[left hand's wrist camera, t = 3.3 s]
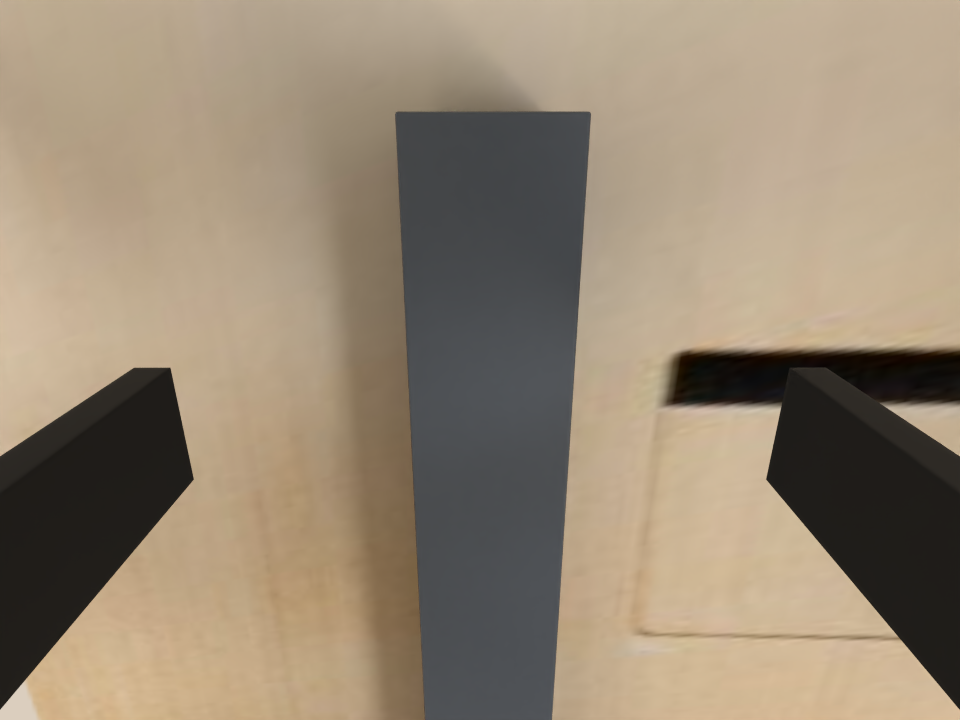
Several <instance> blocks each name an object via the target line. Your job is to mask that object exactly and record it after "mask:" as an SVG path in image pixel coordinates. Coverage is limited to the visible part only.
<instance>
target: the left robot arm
mask: <svg viewBox="0 0 960 720" xmlns="http://www.w3.org/2000/svg"><path fill="white" fill-rule="evenodd" d="M193 480H194V478H193V474H192V469H191V464H190V459H189V455H188V450H187V445H186V440H185V435H184V431H183V426H182V421H181V416H180V412H179V407H178V402H177V397H176V392H175V388H174V383H173V378H172V373H171V369H170V368H133V369H132V370H130V371H129V372H127V373H126V374H124V375H123V376H121V377H120V378H118V379H117V380H115V381H114V382H112V383H111V384H109V385H108V386H106V387H104V388H103V389H101V390H100V391H98V392H97V393H95V394H94V395H92V396H91V397H89V398H88V399H86V400H85V401H83V402H82V403H80V404H79V405H77V406H76V407H74V408H73V409H71V410H70V411H68V412H67V413H65V414H64V415H62V416H61V417H59V418H58V419H56V420H55V421H53V422H52V423H50V424H49V425H47V426H46V427H44V428H43V429H41V430H39V431H38V432H36V433H35V434H33V435H32V436H30V437H29V438H27V439H26V440H24V441H23V442H21V443H20V444H18V445H17V446H15V447H14V448H12V449H11V450H9V451H8V452H6V453H5V454H3V455H2V456H0V709H1V708H2V707H3V706H4V704H5V703H6V702H7V701H8V700H9V698H10V697H11V696H12V695H13V694H14V692H15V691H16V690H17V689H18V688H19V687H20V685H21V684H22V683H23V682H24V681H25V679H26V678H27V677H28V676H29V675H30V674H31V672H32V671H33V670H34V669H35V668H36V666H37V665H38V664H39V663H40V662H41V660H42V659H43V658H44V657H45V656H46V655H47V653H48V652H49V651H50V650H51V649H52V647H53V646H54V645H55V644H56V643H57V641H58V640H59V639H60V638H61V637H62V636H63V634H64V633H65V632H66V631H67V630H68V628H69V627H70V626H71V625H72V624H73V622H74V621H75V620H76V619H77V618H78V616H79V615H80V614H81V613H82V612H83V611H84V609H85V608H86V607H87V606H88V605H89V603H90V602H91V601H92V600H93V599H94V597H95V596H96V595H97V594H98V593H99V592H100V590H101V589H102V588H103V587H104V586H105V584H106V583H107V582H108V581H109V580H110V578H111V577H112V576H113V575H114V574H115V572H116V571H117V570H118V569H119V568H120V567H121V565H122V564H123V563H124V562H125V561H126V559H127V558H128V557H129V556H130V555H131V553H132V552H133V551H134V550H135V549H136V548H137V546H138V545H139V544H140V543H141V542H142V540H143V539H144V538H145V537H146V536H147V534H148V533H149V532H150V531H151V530H152V528H153V527H154V526H155V525H156V524H157V523H158V521H159V520H160V519H161V518H162V517H163V515H164V514H165V513H166V512H167V511H168V509H169V508H170V507H171V506H172V505H173V504H174V502H175V501H176V500H177V499H178V498H179V496H180V495H181V494H182V493H183V492H184V490H185V489H186V488H187V487H188V486H189V484H190V483H191V482H192V481H193ZM766 480H767V481H768V482H769V483H770V484H771V486H772V487H773V488H774V489H775V490H776V492H777V493H778V494H779V495H780V496H781V498H782V499H783V500H784V501H785V502H786V504H787V505H788V506H789V507H790V508H791V509H792V511H793V512H794V513H795V514H796V515H797V517H798V518H799V519H800V520H801V521H802V523H803V524H804V525H805V526H806V527H807V528H808V530H809V531H810V532H811V533H812V534H813V536H814V537H815V538H816V539H817V540H818V542H819V543H820V544H821V545H822V546H823V548H824V549H825V550H826V551H827V552H828V553H829V555H830V556H831V557H832V558H833V559H834V561H835V562H836V563H837V564H838V565H839V567H840V568H841V569H842V570H843V571H844V572H845V574H846V575H847V576H848V577H849V578H850V580H851V581H852V582H853V583H854V584H855V586H856V587H857V588H858V589H859V590H860V592H861V593H862V594H863V595H864V596H865V597H866V599H867V600H868V601H869V602H870V603H871V605H872V606H873V607H874V608H875V609H876V611H877V612H878V613H879V614H880V615H881V616H882V618H883V619H884V620H885V621H886V622H887V624H888V625H889V626H890V627H891V628H892V630H893V631H894V632H895V633H896V634H897V636H898V637H899V638H900V639H901V640H902V641H903V643H904V644H905V645H906V646H907V647H908V649H909V650H910V651H911V652H912V653H913V655H914V656H915V657H916V658H917V659H918V660H919V662H920V663H921V664H922V665H923V666H924V668H925V669H926V670H927V671H928V672H929V674H930V675H931V676H932V677H933V678H934V679H935V681H936V682H937V683H938V684H939V685H940V687H941V688H942V689H943V690H944V691H945V693H946V694H947V695H948V696H949V697H950V699H951V700H952V701H953V702H954V703H955V704H956V706H957V707H958V708H959V709H960V456H958V455H957V454H955V453H954V452H952V451H951V450H949V449H948V448H946V447H945V446H943V445H942V444H940V443H939V442H937V441H936V440H934V439H933V438H931V437H930V436H928V435H927V434H925V433H924V432H922V431H921V430H919V429H917V428H916V427H914V426H913V425H911V424H910V423H908V422H907V421H905V420H904V419H902V418H901V417H899V416H898V415H896V414H895V413H893V412H892V411H890V410H889V409H887V408H886V407H884V406H883V405H881V404H880V403H878V402H877V401H875V400H874V399H872V398H871V397H869V396H868V395H866V394H865V393H863V392H862V391H860V390H859V389H857V388H856V387H854V386H852V385H851V384H849V383H848V382H846V381H845V380H843V379H842V378H840V377H839V376H837V375H836V374H834V373H833V372H831V371H830V370H828V369H827V368H790V369H789V373H788V378H787V383H786V388H785V392H784V397H783V402H782V407H781V412H780V416H779V421H778V426H777V431H776V435H775V440H774V445H773V450H772V455H771V459H770V464H769V469H768V474H767V478H766Z"/></svg>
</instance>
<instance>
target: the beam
mask: <svg viewBox="0 0 960 720" xmlns="http://www.w3.org/2000/svg"><path fill="white" fill-rule="evenodd" d="M395 119H396V139H397V160H398V180H399V200H400V221H401V241H402V261H403V282H404V302H405V322H406V343H407V363H408V383H409V403H410V424H411V444H412V464H413V485H414V505H415V525H416V546H417V566H418V586H419V606H420V627H421V647H422V667H423V688H424V708H425V720H552V710H553V694H554V679H555V663H556V648H557V632H558V616H559V601H560V585H561V570H562V554H563V539H564V523H565V508H566V492H567V477H568V461H569V446H570V430H571V415H572V399H573V384H574V368H575V353H576V337H577V322H578V306H579V291H580V275H581V260H582V244H583V229H584V213H585V198H586V182H587V167H588V151H589V136H590V120H591V113H590V112H396V114H395Z"/></svg>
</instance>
